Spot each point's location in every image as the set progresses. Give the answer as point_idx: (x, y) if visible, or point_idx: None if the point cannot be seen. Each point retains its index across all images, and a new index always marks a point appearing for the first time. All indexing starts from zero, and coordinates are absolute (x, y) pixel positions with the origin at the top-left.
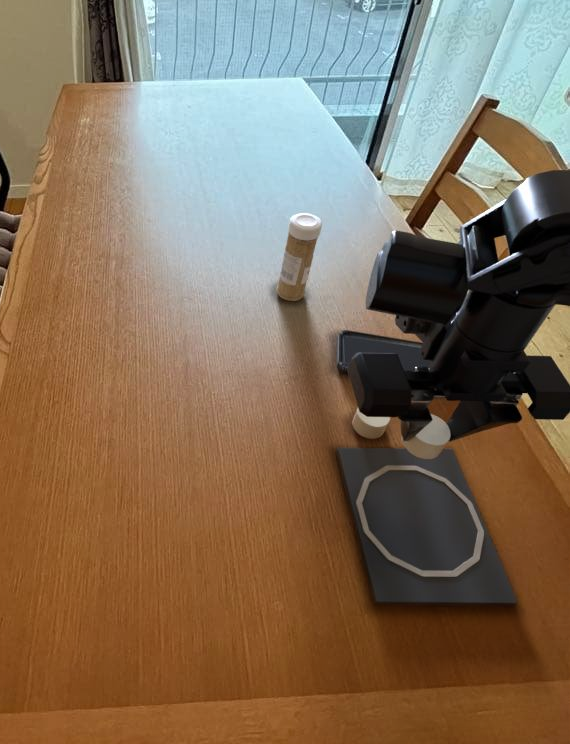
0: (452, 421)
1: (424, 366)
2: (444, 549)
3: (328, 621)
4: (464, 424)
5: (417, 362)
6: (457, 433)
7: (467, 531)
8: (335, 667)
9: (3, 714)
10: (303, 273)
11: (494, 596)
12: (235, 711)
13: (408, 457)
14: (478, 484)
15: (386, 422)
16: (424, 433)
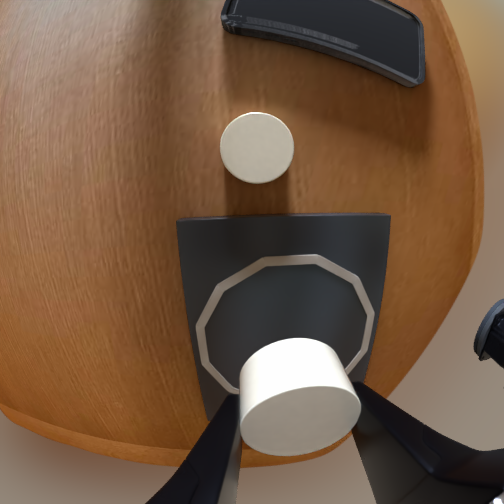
0: (372, 427)
1: (387, 38)
2: None
3: (163, 419)
4: (377, 476)
5: (377, 28)
6: (360, 450)
7: (347, 352)
8: (171, 439)
9: (14, 409)
10: None
11: None
12: (108, 443)
13: (310, 236)
14: (399, 267)
15: (281, 169)
16: (278, 439)
